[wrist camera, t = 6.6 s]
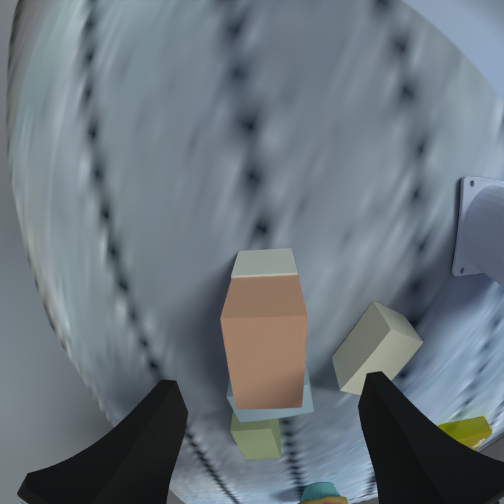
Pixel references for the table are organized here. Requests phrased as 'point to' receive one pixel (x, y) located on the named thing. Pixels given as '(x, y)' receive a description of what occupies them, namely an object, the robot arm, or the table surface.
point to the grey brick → (264, 263)
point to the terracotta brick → (265, 341)
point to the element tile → (468, 431)
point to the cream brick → (375, 347)
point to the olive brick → (257, 438)
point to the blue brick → (266, 414)
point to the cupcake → (322, 494)
